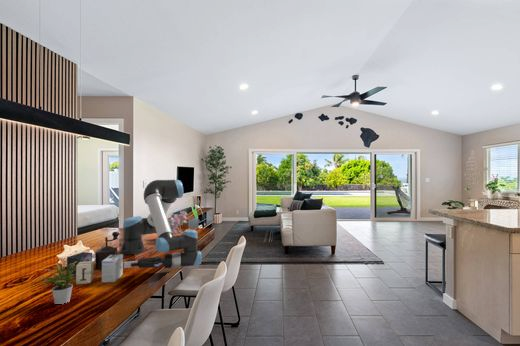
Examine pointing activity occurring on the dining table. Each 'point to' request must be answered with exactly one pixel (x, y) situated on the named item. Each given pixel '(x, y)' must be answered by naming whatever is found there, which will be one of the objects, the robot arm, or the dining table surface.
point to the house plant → (61, 284)
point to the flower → (177, 222)
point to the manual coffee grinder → (105, 252)
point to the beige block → (84, 272)
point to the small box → (78, 260)
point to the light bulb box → (112, 268)
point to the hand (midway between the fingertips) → (124, 264)
